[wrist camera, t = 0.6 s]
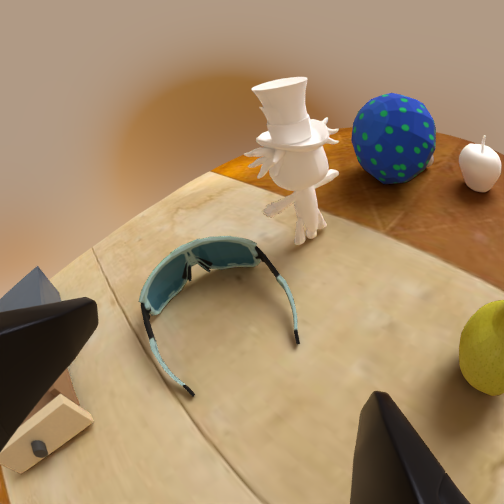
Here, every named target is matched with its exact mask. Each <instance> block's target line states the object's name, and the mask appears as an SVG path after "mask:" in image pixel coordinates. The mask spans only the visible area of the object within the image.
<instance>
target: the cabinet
mask: <svg viewBox="0 0 504 504" xmlns="http://www.w3.org/2000/svg"><path fill="white" fill-rule="evenodd" d="M55 302H61V299H60V295H59V292H58V291H57V290H56V288H55V287H54V286H53V285H52V283H51V282H50V281H49V280H48V278H47V277H46V276H45V275H44V273H43V272H42V271H41V270H40V268H39V267H38V266H37V267H36V268H34V269H33V270H32V271H31V272H30V273H29V274H27V275H26V276H25V277H24V278H23V279H22V280H21V281H20V282H19V283H17V284H16V285H15V286H14V287H13V288H12V289H11V290H10V291H9V292H8V293H6V294H5V295H4V296H3V297H2V298H1V299H0V312H4V311H9V310H15V309H21V308H27V307H33V306H38V305H44V304H49V303H55Z"/></svg>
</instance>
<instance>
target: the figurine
mask: <svg viewBox="0 0 504 504" xmlns="http://www.w3.org/2000/svg"><path fill="white" fill-rule="evenodd" d="M306 85H307V78H306V77H292V78H286V79H279V80H275V81H270V82H267V83H263V84H260V85H258V86H255V87H253V88H252V91H253V92H254V93H255V95H256V96H257V97H258V98H259V100H260V101H261V103H262V105H263V107H260V109H261V110H262V111H263V113H264V115H265V116H266V118H267V127H268V130H269V131H267V132H265V133H262V134H261V135H260V136H259V137H258V138H256V142H257V143H258V144H260V145H261V146H264V147H262V148H256V149H254V150H252V151H250V152H248V153H244V155H245V156H249V157H250V156H255V157H261V156H263V157H261V158H258V159H257V160H256V161H254V162H253V163H252V164H250V165H248V167H256V166H258V165H261V164H263V165H262V167H261V170H260V173H259V174H258V176H257V178H261V177H263V176H264V175H265V174H266V173H267V171H268V170H269V173H270V176H271V178H272V180H273V181H274V182H275V183H276V184H277V185H278V186H280V187H282V188H284V189H287V190H291V191H294V193H293V194H291V195H289V196H287V197H285V198H282V199H280V200H278V201H276V202H272V203H271V205H266V208H265V209H264V210H262V212H263V214H264V215H266V216H267V217H270V218H272V217H273V216H274V215H276V214H279V213H281V212H282V211H283V210H285V209H286V208H288V207H289V206H290V205H291V204H292V203H294V206H295V211H296V215H297V222H296V231H295V239H294V243H295V245H301V244H303V243H304V242H305V240H306V238H305V233H304V228H303V225H304V224H305V226H306V228H307V230H306V236H307V237H308V238H310V239H313V238H315V237H316V235H317V229H322V228H325V227H326V226H327V224H326V222H325V220H324V218H323V216H322V214H321V212H320V210H319V209H318V204H317V198H316V192H315V188H317V187H320V186H322V185H324V184H326V183H328V182H329V181H332V180H333V178H335V177H337V176H338V175H339V172H338V171H336V170H334V169H330V170H328V169H329V166H328V161H327V157H326V154H325V151H324V149H323V146H322V145H323V144H325V143H330V144H336V143H338V142H339V141H335V140H333V139H331V138H329V134H335V133H336V132H338V130H339V129H334V130H333V129H329V128H327V126H326V125H325V124H326V123H327V121H328V117H327V118H325V119H324V120H323V121H318V120H315V119H310V117H309V115H308V114H307V111H306V106H305V91H306Z"/></svg>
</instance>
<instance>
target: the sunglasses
mask: <svg viewBox="0 0 504 504" xmlns="http://www.w3.org/2000/svg"><path fill="white" fill-rule="evenodd" d="M256 245H257V243H255V242H253V241H251V240H248V239H244V238H239V237H232V236H219V237H208V238H203V239H196V240H194V241H191V242H189V243H187V244H184V245H182V246H180V247H178V248H177V249H175V250H174V251H172V252H171V253H170V254H169V255H168V256H167V257H166V258H164V259H163V260H162V261H161V262H160V263H159V265H158V266H157V267H156V268H155V269H154V270H153V272H152V273H151V274H150V276H149V277H148V279H147V281H146V283H145V285H144V287H143V289H142V291H141V295H140V298H139V302H141V309H142V315H143V320H144V325H145V328H146V331H147V334H148V337H149V341H150V346H151V350H152V352H153V354H154V355H155V357H156V358H157V360H158V362H159V363H160V364H161V366H162V367H163V369H164V370H165V371H166V372H167V373H168V374H169V375H170V376H171V377H172V378H173V379H174V380H175V381H176V382H177V383H179V384H180V385H181V386H183V387H184V388H185V389H186V390H187V391H188V392H189V393H190V394H191V395H192V396H194V395H195V394H194V392H193V391H192V390H191V389H190V388H189V387H188V386H187V385H185V384H184V383H183V382H182V381H181V380H179V379H178V378H177V377H176V376H175V375H174V374H173V373H172V372H171V371H170V370H169V368H168V367H167V366H166V364H165V363H164V361H163V360H162V358H161V356H160V354H159V352H158V347H157V343H156V340H155V337H154V334H153V331H152V328H151V324H150V321H149V319H150V315H149V314H151V315H152V316H153V315H157V314H159V313H160V312H161V311H162V309H163V308H164V307H165V306H166V305H167V303H168V302H169V301H170V300H171V299H172V298H173V297H174V296H175V295H176V294H177V293H179V292H180V291H181V290H182V289H183V287H184V285H185V284H186V282H187V281H188V280H189V282H190V281H191V266H194V265H196V264H197V263H198V264H199V265H200V266H201V267H203V268H204V269H205V270H206V271H208V272H210V270H209V269H219V270H223V269H227V268H233V267H254V266H256V265H258V264H259V263H260V259H261V261H262V262H265V263H266V265H267V266H268V267H269V269H270V270H271V272H272V273H273V274H274V276H275V277H276V280H277V282H278V283H279V284H280V285H281V286H282V288H283V289H284V290H285V292H286V294H287V296H288V299H289V301H290V305H291V308H292V312H293V319H294V334H295V339H296V343H297V344H300V342H299V337H298V330H297V313H296V308H295V303H294V299H293V297H292V293H291V291H290V289H289V287H288V285H287V283H286V281H285V280H284V279H283V278H282V276H281V275H280V274H279V273H278V271H277V270H276V268H275V267H274V266H273V264H272V263H271V262H270V260H269V259H268V258H267V256H266V255H265V254H264V253H263V252H262V251H261V250H260V249H259V248H258V247H257V246H256Z"/></svg>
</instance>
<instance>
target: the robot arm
mask: <svg viewBox="0 0 504 504" xmlns="http://www.w3.org/2000/svg"><path fill="white" fill-rule="evenodd" d="M97 326H98V312H97V304H96V302H95V301H94V300H92V299H90V298H87V297H83V298H77V299H72V300H66V301H61V302H55V303H49V304H44V305H38V306H33V307H27V308H21V309H15V310H9V311H4V312H0V452H1V451H2V450H3V448H4V447H5V446H6V444H7V443H8V441H9V440H10V438H11V437H12V436H13V434H14V433H15V432H16V431H17V429H18V428H19V427H20V425H21V424H22V423H23V421H24V420H25V419H26V418H27V416H28V415H29V414H30V412H31V411H32V410H33V409H34V407H35V406H36V405H37V404H38V402H39V401H40V400H41V399H42V397H43V396H44V395H45V394H46V393H47V391H48V390H49V389H50V388H51V386H52V385H53V384H54V383H55V382H56V380H57V379H58V378H59V377H60V376H61V374H62V373H63V372H64V371H65V370H66V369H67V367H68V366H69V365H70V364H71V363H72V362H73V360H74V359H75V358H76V356H77V355H78V354H79V352H80V351H81V349H82V348H83V346H84V345H85V344H86V342H87V341H88V339H89V338H90V336H91V335H92V334H93V332H94V331H95V330H96V328H97ZM350 504H470V503H469V501H468V500H467V499H466V498H465V497H464V495H463V494H462V493H461V492H460V490H459V489H458V488H457V486H456V485H455V484H454V482H453V481H452V480H451V478H450V477H449V476H448V474H447V473H445V470H444V469H443V467H442V466H441V465H440V463H439V462H438V460H437V459H436V458H435V456H434V455H433V454H432V452H431V451H430V449H429V448H428V447H427V445H426V444H425V443H424V441H423V440H422V439H421V437H420V436H419V434H418V433H417V432H416V430H415V429H414V428H413V426H412V425H411V424H410V422H409V421H408V420H407V418H406V417H405V416H404V414H403V413H402V412H401V410H400V409H399V408H398V406H397V405H396V404H395V402H394V401H393V400H392V398H391V397H390V396H389V394H388V393H386V392H381V391H374V392H373V393H372V394H371V396H370V397H369V399H368V400H367V402H366V404H365V405H364V407H363V408H362V410H361V413H360V419H359V426H358V433H357V439H356V446H355V452H354V459H353V474H352V487H351V498H350Z"/></svg>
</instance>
